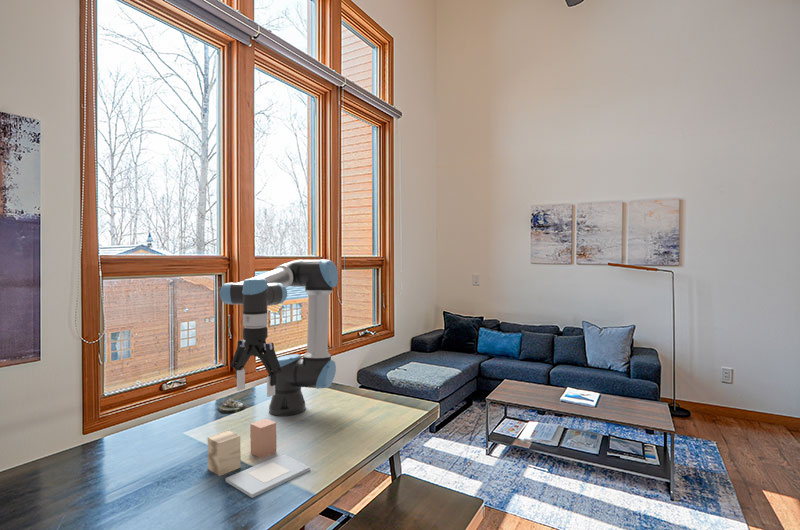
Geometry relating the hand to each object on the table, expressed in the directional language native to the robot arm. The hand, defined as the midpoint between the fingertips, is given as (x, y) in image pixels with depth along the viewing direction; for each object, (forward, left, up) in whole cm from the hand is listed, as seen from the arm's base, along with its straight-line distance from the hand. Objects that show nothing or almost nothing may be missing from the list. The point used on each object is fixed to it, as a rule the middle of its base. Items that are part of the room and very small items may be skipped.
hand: (255, 392), depth 141 cm
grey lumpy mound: (-52, +20, -23) cm, 60 cm away
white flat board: (+11, -3, -22) cm, 25 cm away
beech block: (-4, -9, -22) cm, 24 cm away
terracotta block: (-4, +5, -22) cm, 23 cm away
